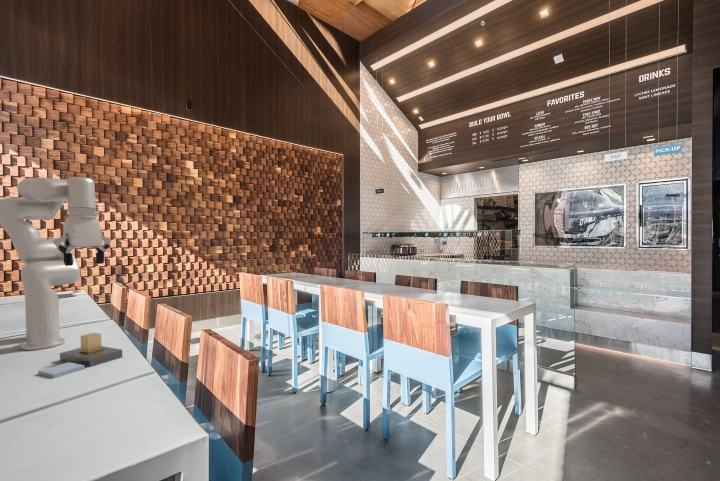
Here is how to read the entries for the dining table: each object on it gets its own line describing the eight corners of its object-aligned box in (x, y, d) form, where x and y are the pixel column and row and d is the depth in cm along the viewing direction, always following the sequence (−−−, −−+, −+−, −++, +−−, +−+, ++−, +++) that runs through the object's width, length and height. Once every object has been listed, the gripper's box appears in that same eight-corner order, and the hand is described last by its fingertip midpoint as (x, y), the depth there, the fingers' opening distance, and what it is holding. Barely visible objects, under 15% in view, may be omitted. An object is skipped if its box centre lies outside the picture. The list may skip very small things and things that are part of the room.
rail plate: (60, 360, 120) (59, 353, 120) (93, 351, 129) (92, 344, 129) (89, 366, 113) (89, 358, 113) (122, 357, 122) (122, 349, 122)
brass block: (81, 360, 120) (80, 335, 120) (94, 356, 124) (93, 332, 124) (88, 361, 118) (87, 336, 118) (101, 357, 122) (101, 333, 122)
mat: (38, 374, 108) (38, 370, 108) (69, 365, 115) (69, 362, 115) (53, 377, 104) (53, 374, 104) (84, 368, 112) (84, 365, 112)
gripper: (102, 216, 134) (104, 263, 134) (46, 213, 118) (48, 266, 118) (115, 214, 131) (117, 262, 131) (59, 211, 115) (62, 266, 115)
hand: (85, 264), depth 124 cm, fingers open, 9 cm apart
